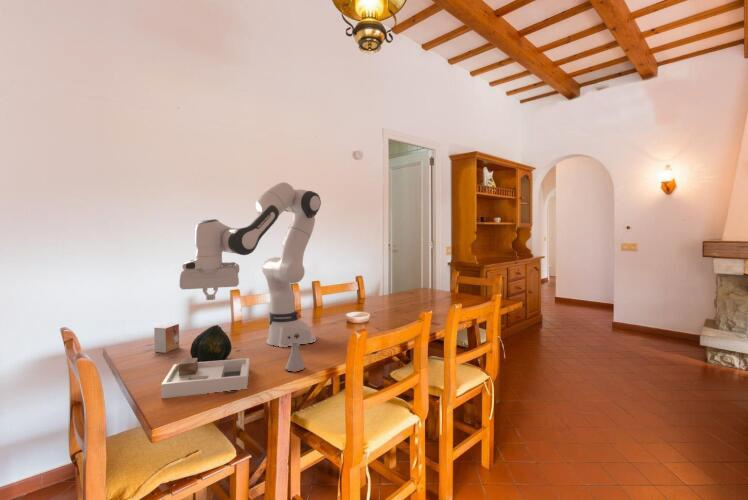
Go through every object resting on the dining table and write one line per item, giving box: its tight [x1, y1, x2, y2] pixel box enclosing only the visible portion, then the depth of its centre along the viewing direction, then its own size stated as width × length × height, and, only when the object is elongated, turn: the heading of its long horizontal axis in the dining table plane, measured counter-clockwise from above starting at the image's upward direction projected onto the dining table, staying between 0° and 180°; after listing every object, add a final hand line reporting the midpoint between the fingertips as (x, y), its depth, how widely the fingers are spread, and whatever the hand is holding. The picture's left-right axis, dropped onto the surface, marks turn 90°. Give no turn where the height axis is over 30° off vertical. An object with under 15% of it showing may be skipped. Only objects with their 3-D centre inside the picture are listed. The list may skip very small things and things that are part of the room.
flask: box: [284, 342, 306, 372], centre depth 136 cm, size 7×7×10 cm
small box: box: [153, 322, 180, 354], centre depth 155 cm, size 8×6×10 cm
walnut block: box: [178, 357, 198, 376], centre depth 124 cm, size 5×5×4 cm
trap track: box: [160, 357, 250, 399], centre depth 123 cm, size 25×17×4 cm
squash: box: [189, 324, 232, 362], centre depth 142 cm, size 14×15×15 cm
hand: (210, 299), depth 136 cm, fingers closed
